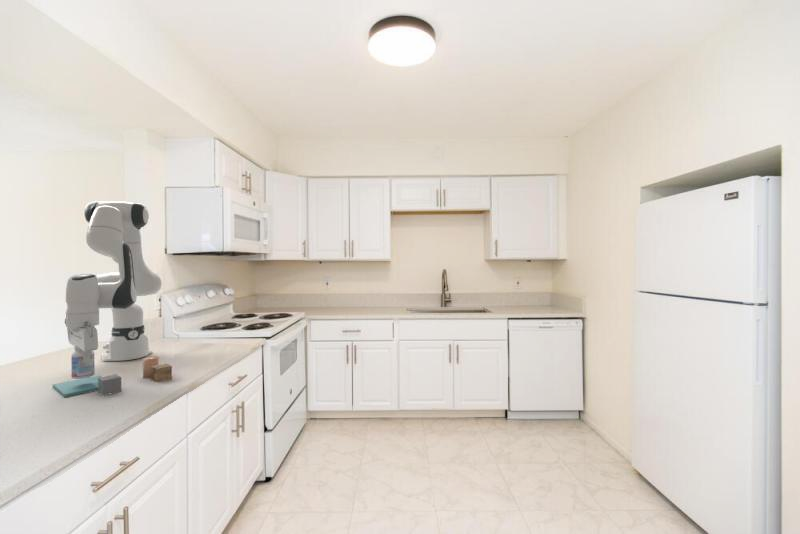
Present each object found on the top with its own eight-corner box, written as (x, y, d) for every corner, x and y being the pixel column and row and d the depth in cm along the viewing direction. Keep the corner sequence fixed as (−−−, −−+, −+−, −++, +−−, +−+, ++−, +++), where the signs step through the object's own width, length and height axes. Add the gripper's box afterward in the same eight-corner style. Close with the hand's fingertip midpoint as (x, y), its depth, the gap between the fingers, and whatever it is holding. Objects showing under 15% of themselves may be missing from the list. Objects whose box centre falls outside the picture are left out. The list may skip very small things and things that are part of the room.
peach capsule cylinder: (140, 376, 140) (140, 358, 140) (155, 373, 144) (155, 355, 144) (146, 379, 137) (145, 360, 137) (161, 375, 141) (160, 357, 141)
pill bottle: (70, 377, 128) (70, 344, 128) (93, 373, 132) (92, 342, 132) (72, 380, 124) (72, 347, 124) (95, 376, 128) (95, 344, 128)
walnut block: (151, 379, 136) (151, 366, 136) (166, 376, 140) (165, 363, 140) (156, 382, 133) (156, 368, 133) (171, 378, 138) (171, 365, 137)
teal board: (52, 387, 128) (52, 384, 128) (99, 377, 138) (99, 375, 138) (64, 397, 118) (64, 394, 118) (113, 386, 128) (113, 383, 128)
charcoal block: (98, 392, 123) (98, 377, 123) (116, 388, 127) (116, 374, 127) (102, 395, 120) (102, 380, 120) (121, 391, 124) (121, 376, 124)
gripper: (103, 322, 124) (104, 363, 124) (86, 317, 136) (86, 354, 136) (79, 325, 119) (79, 367, 119) (63, 319, 131) (63, 357, 131)
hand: (83, 360), depth 128 cm, fingers closed on pill bottle, 6 cm apart
